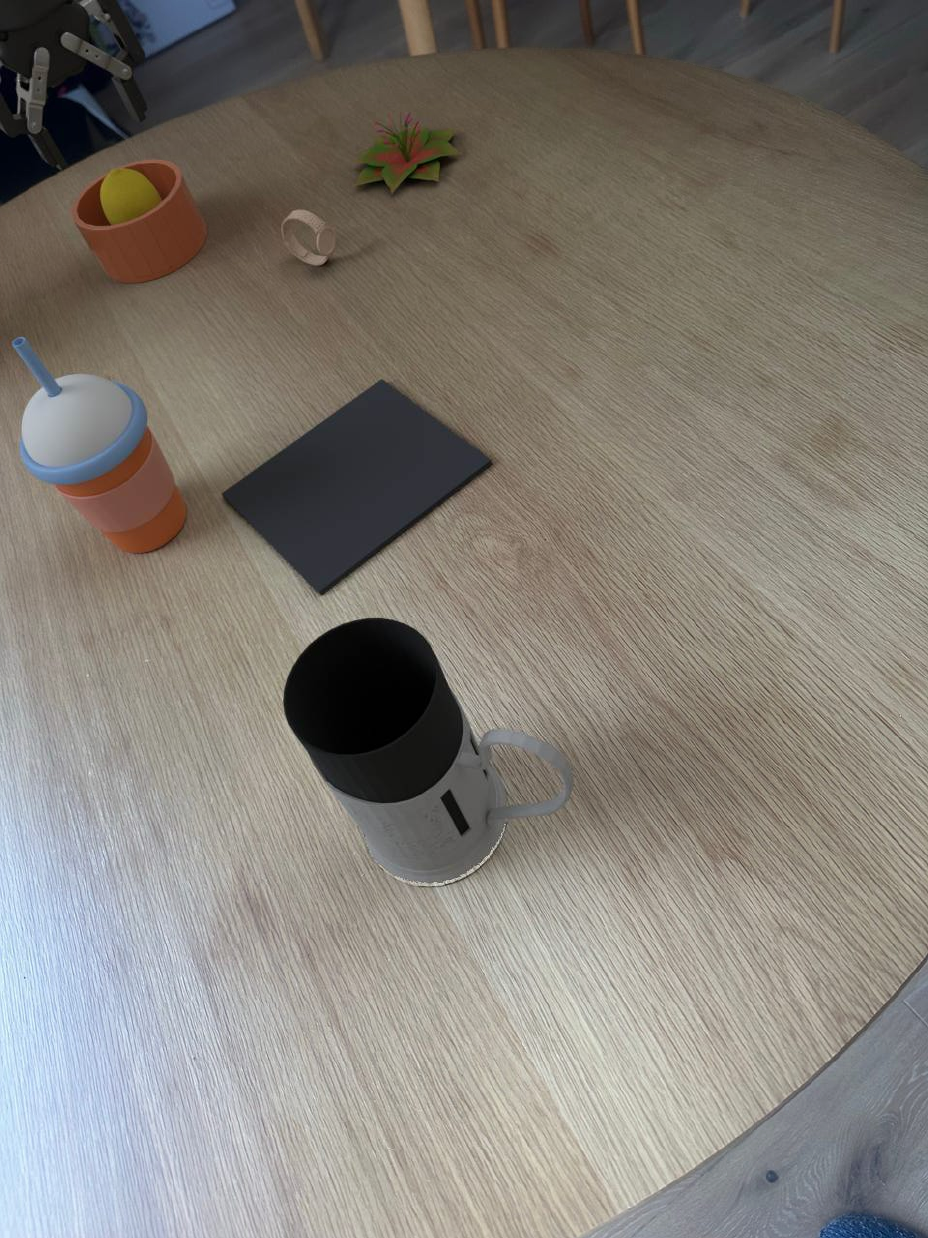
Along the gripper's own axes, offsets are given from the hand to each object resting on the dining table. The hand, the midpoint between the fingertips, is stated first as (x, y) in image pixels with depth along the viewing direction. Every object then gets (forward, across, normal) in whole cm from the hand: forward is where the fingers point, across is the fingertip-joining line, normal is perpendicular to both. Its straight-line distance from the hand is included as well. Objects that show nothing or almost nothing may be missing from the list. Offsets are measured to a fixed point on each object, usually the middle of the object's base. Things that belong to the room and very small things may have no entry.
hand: (100, 142), depth 90 cm
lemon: (+11, 0, 0) cm, 11 cm away
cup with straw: (+11, +19, +33) cm, 40 cm away
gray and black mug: (+11, +16, +71) cm, 74 cm away
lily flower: (+12, -24, +12) cm, 29 cm away
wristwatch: (+11, -9, +17) cm, 22 cm away
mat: (+11, +5, +43) cm, 45 cm away
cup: (+11, 0, 0) cm, 11 cm away
